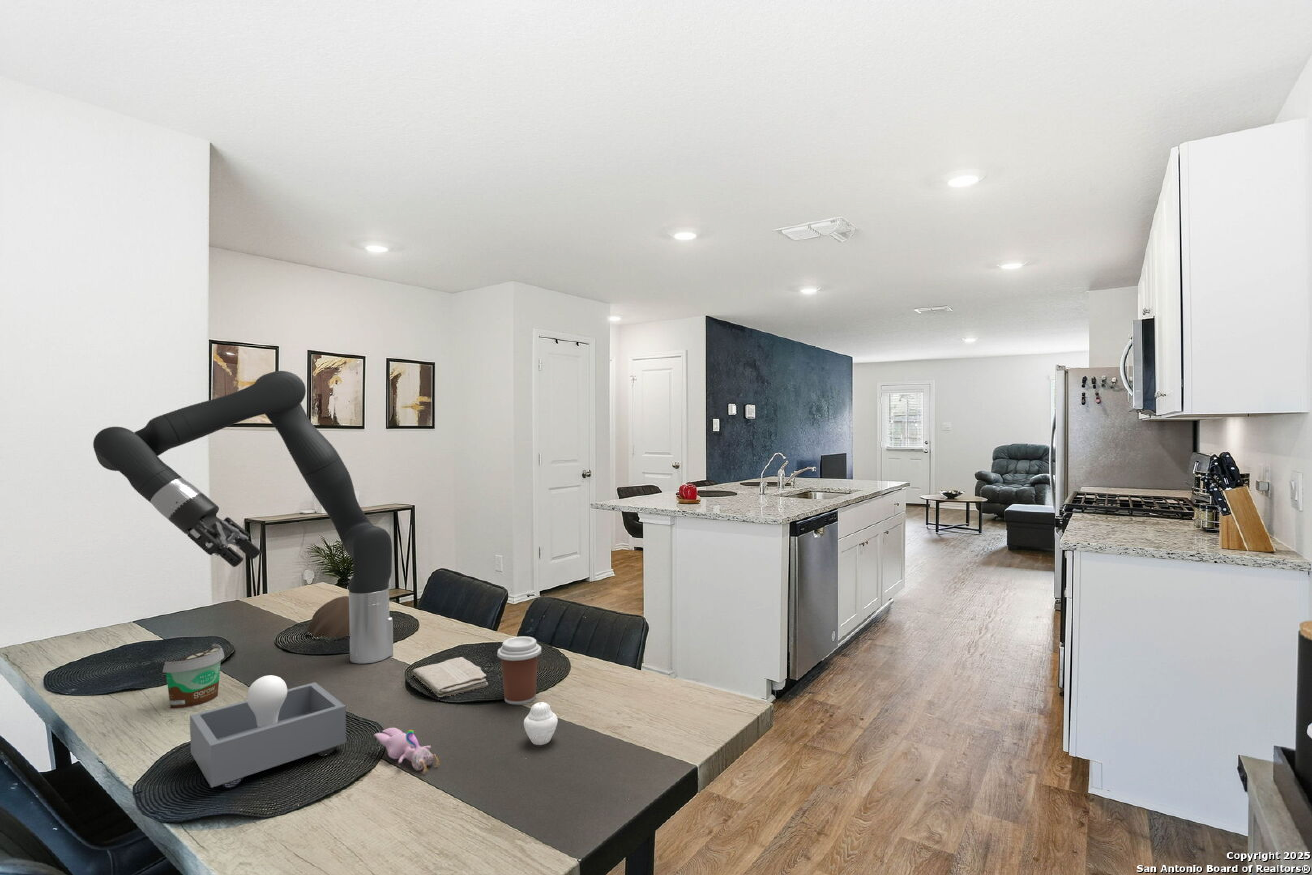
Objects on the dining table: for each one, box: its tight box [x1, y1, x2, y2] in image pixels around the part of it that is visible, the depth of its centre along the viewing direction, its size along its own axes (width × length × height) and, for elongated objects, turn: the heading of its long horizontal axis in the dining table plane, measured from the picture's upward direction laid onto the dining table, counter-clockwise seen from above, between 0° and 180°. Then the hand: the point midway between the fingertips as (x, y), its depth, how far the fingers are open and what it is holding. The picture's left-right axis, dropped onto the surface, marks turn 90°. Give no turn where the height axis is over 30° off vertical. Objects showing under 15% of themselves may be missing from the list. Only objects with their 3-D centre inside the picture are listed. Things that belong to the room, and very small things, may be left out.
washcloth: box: [411, 656, 489, 698], centre depth 147 cm, size 12×18×3 cm, turn 40°
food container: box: [162, 643, 225, 709], centre depth 138 cm, size 12×6×10 cm, turn 168°
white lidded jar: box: [523, 701, 559, 746], centre depth 117 cm, size 6×6×7 cm
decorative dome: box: [306, 595, 350, 637], centre depth 186 cm, size 19×20×10 cm
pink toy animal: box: [373, 727, 441, 775], centre depth 111 cm, size 6×6×15 cm
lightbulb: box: [246, 674, 288, 729], centre depth 113 cm, size 6×6×11 cm
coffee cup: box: [496, 635, 542, 706], centre depth 136 cm, size 9×9×12 cm
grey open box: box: [189, 681, 347, 789], centre depth 113 cm, size 20×16×8 cm
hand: (248, 559), depth 133 cm, fingers open, 8 cm apart
